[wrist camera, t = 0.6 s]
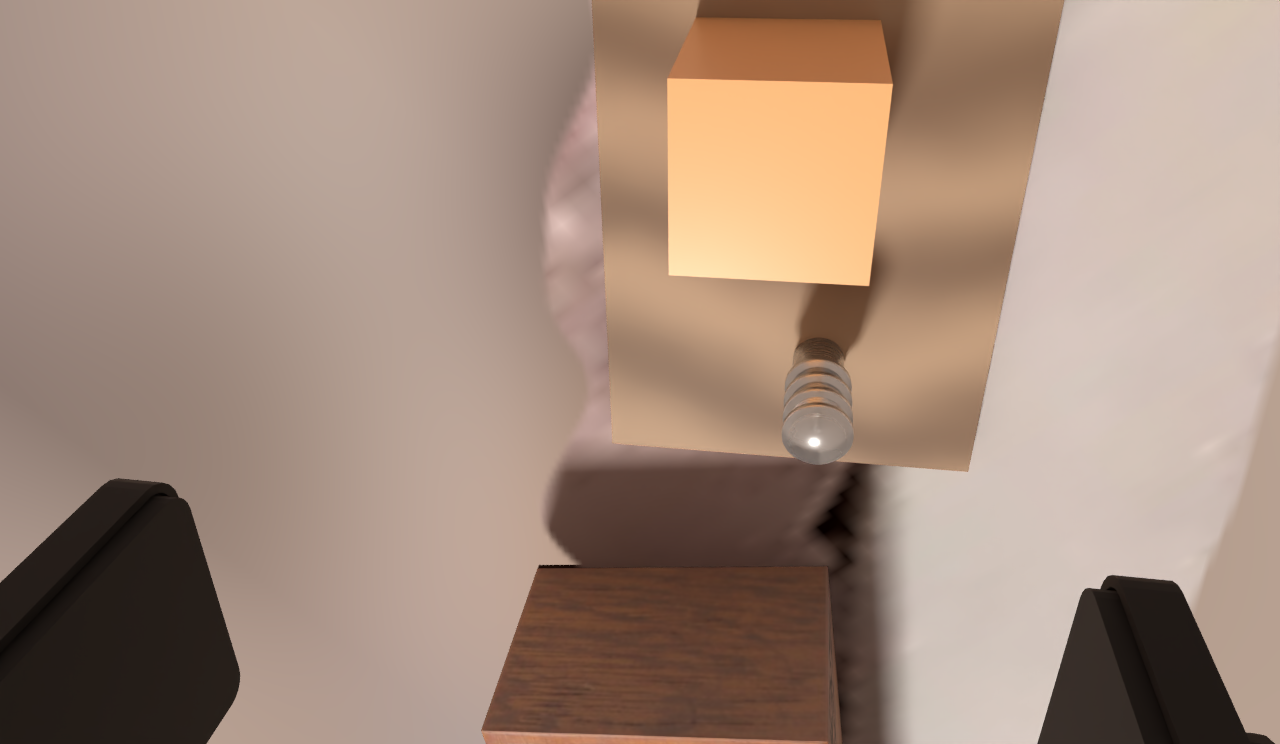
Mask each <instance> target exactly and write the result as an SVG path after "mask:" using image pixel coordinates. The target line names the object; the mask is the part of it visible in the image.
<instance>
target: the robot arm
mask: <svg viewBox="0 0 1280 744" xmlns="http://www.w3.org/2000/svg"><path fill="white" fill-rule="evenodd" d="M239 683H240V672H239V666H238V663H237V660H236V657H235V653H234V650H233V647H232V643H231V640H230V637H229V633H228V630H227V627H226V624H225V620H224V617H223V614H222V611H221V608H220V604H219V601H218V598H217V594H216V591H215V588H214V585H213V581H212V578H211V575H210V571H209V568H208V565H207V562H206V558H205V555H204V552H203V548H202V546H201V542H200V539H199V536H198V532H197V529H196V526H195V523H194V519H193V516H192V513H191V509H190V507H189V505H188V503H187V502H186V501H185V500H184V499H182V498H179V497H178V495H177V493H176V491H175V490H174V488H172V487H171V486H170V485H169V484H165V483H159V482H149V481H139V480H129V479H119V478H118V479H114V480H110V481H108V482H107V483H106V484H104V485H103V486H101V487H100V488H99V489H98V490H97V491H96V492H95V493H94V494H93V495H92V496H91V497H90V498H89V499H88V500H87V501H86V502H85V503H84V504H82V505H81V506H80V507H79V508H78V509H77V510H76V511H75V512H74V513H73V514H72V515H71V516H70V517H69V518H68V519H67V520H66V521H65V522H64V523H62V524H61V525H60V526H59V527H58V528H57V529H56V530H55V531H54V532H53V533H52V534H51V535H50V536H49V537H48V538H47V539H46V540H45V541H44V542H43V543H41V544H40V545H39V546H38V547H37V548H36V549H35V550H34V551H33V552H32V553H31V554H30V555H29V556H28V557H27V558H26V559H25V560H24V561H23V562H22V563H20V565H18V566H17V567H16V568H15V569H14V570H13V571H12V572H11V573H10V574H9V575H8V576H7V577H6V578H5V579H4V580H3V581H2V582H1V583H0V744H206V743H207V742H208V740H209V739H210V737H211V736H212V734H213V732H214V731H215V730H216V728H217V727H218V725H219V723H220V722H221V721H222V719H223V717H224V716H225V714H226V713H227V711H228V710H229V708H230V707H231V705H232V703H233V701H234V700H235V697H236V695H237V692H238V688H239ZM1038 744H1275V743H1274V742H1272V741H1271V740H1270V739H1269V738H1268V737H1267V736H1264V735H1260V734H1254V733H1246V732H1245V730H1244V728H1243V725H1242V723H1241V721H1240V719H1239V717H1238V714H1237V712H1236V710H1235V708H1234V706H1233V703H1232V701H1231V699H1230V697H1229V694H1228V692H1227V690H1226V688H1225V686H1224V683H1223V681H1222V679H1221V677H1220V674H1219V672H1218V670H1217V668H1216V666H1215V664H1214V662H1213V659H1212V657H1211V654H1210V652H1209V650H1208V648H1207V645H1206V643H1205V641H1204V639H1203V637H1202V634H1201V632H1200V630H1199V628H1198V626H1197V623H1196V621H1195V619H1194V617H1193V614H1192V612H1191V610H1190V608H1189V606H1188V603H1187V601H1186V599H1185V597H1184V594H1183V592H1182V591H1181V589H1180V588H1179V586H1178V585H1177V584H1176V583H1174V582H1173V581H1167V580H1156V579H1146V578H1136V577H1126V576H1115V575H1111V576H1108V577H1107V578H1106V579H1105V580H1104V582H1103V584H1102V586H1101V589H1092V588H1087V589H1085V590H1084V591H1083V592H1082V595H1081V597H1080V600H1079V603H1078V607H1077V610H1076V614H1075V617H1074V621H1073V624H1072V627H1071V631H1070V634H1069V638H1068V641H1067V645H1066V648H1065V651H1064V655H1063V658H1062V662H1061V665H1060V669H1059V672H1058V675H1057V679H1056V682H1055V686H1054V689H1053V692H1052V696H1051V699H1050V703H1049V706H1048V710H1047V713H1046V716H1045V720H1044V723H1043V727H1042V730H1041V734H1040V737H1039V740H1038Z"/></svg>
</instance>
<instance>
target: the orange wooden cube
mask: <svg viewBox="0 0 1280 744" xmlns="http://www.w3.org/2000/svg"><path fill="white" fill-rule="evenodd" d="M892 88H893V82H892V76H891V71H890V66H889V61H888V55H887V50H886V45H885V40H884V34H883V29H882V24H881V20H835V19H769V18H703V17H696V18H695V20H694V22H693V25H692V27H691V29H690V31H689V33H688V35H687V37H686V40H685V42H684V44H683V46H682V48H681V50H680V52H679V55H678V57H677V59H676V61H675V63H674V65H673V67H672V69H671V72H670V74H669V76H668V78H667V105H668V252H669V275H674V276H692V277H711V278H729V279H748V280H766V281H785V282H804V283H822V284H841V285H859V286H869V282H870V273H871V265H872V257H873V248H874V240H875V231H876V223H877V214H878V206H879V197H880V189H881V181H882V172H883V164H884V155H885V147H886V138H887V130H888V121H889V113H890V104H891V96H892Z"/></svg>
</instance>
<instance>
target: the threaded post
mask: <svg viewBox="0 0 1280 744" xmlns="http://www.w3.org/2000/svg"><path fill="white" fill-rule="evenodd" d="M851 392H852V383H851V378H850V375H849V373H848V371H847V370H846V369H845V368H844V354H843V351H842V349H841V348H840V347H839V346H838V345H837V344H836V343H835V342H833V341H831V340H829V339H826V338H811V339H808V340H806V341H804V342H802V343H801V344H800V345H799V346H798V347H797V348H796V350H795V352H794V354H793V366H792V368H791V369H790V370H789V372H788V374H787V376H786V379H785V394H784V409H783V425H782V441H783V444H784V446H785V448H786V449H787V451H788V452H789V453H790V454H791V455H792V456H793V457H795V458H797V459H798V460H800V461H803V462H806V463H809V464H814V465H823V464H827V463H831V462H834V461H836V460H838V459H840V458H841V457H843V456H844V455H845V454H846V453H847V452H848V451H849V449H850V448H851V446H852V443H853V438H854V433H853V425H852V424H853V412H852V394H851Z"/></svg>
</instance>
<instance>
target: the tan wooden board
mask: <svg viewBox="0 0 1280 744" xmlns="http://www.w3.org/2000/svg"><path fill="white" fill-rule="evenodd" d="M1063 4H1064V0H592V16H593V38H594V59H595V80H596V102H597V123H598V145H599V166H600V188H601V209H602V231H603V252H604V274H605V295H606V317H607V338H608V360H609V381H610V403H611V424H612V443H613V444H626V445H639V446H651V447H664V448H676V449H689V450H701V451H714V452H726V453H739V454H752V455H764V456H777V457H789V458H795V457H793V456H792V455H791V454H790V453H789V452H788V451H787V449H786V448H785V446H784V444H783V441H782V425H783V409H784V394H785V379H786V376H787V374H788V372H789V370H790V369H791V368H792V366H793V354H794V352H795V350H796V348H797V347H798V346H799V345H800V344H801V343H802V342H804V341H806V340H808V339H811V338H826V339H829V340H831V341H833V342H835V343H836V344H837V345H838V346H839V347H840V348H841V349H842V351H843V354H844V368H845V369H846V370H847V371H848V373H849V375H850V378H851V383H852V392H851V394H852V412H853V424H852V425H853V433H854V438H853V443H852V446H851V448H850V449H849V451H848V452H847V453H846V454H845V455H844V456H843V457H841V458H840V459H838V460H836V461H839V462H852V463H865V464H877V465H890V466H902V467H915V468H927V469H940V470H952V471H965V472H968V470H969V465H970V460H971V455H972V450H973V445H974V440H975V435H976V430H977V425H978V421H979V416H980V411H981V406H982V401H983V396H984V391H985V386H986V381H987V376H988V371H989V367H990V362H991V357H992V352H993V347H994V342H995V337H996V332H997V327H998V322H999V318H1000V313H1001V308H1002V303H1003V298H1004V293H1005V288H1006V283H1007V278H1008V273H1009V268H1010V264H1011V259H1012V254H1013V249H1014V244H1015V239H1016V234H1017V229H1018V224H1019V219H1020V214H1021V210H1022V205H1023V200H1024V195H1025V190H1026V185H1027V180H1028V175H1029V170H1030V165H1031V161H1032V156H1033V151H1034V146H1035V141H1036V136H1037V131H1038V126H1039V121H1040V116H1041V111H1042V107H1043V102H1044V97H1045V92H1046V87H1047V82H1048V77H1049V72H1050V67H1051V62H1052V58H1053V53H1054V48H1055V43H1056V38H1057V33H1058V28H1059V23H1060V18H1061V13H1062V8H1063ZM696 17H703V18H769V19H835V20H881V24H882V29H883V34H884V40H885V45H886V50H887V55H888V61H889V66H890V71H891V76H892V82H893V88H892V96H891V104H890V113H889V121H888V130H887V138H886V147H885V155H884V164H883V172H882V181H881V189H880V197H879V206H878V214H877V223H876V231H875V240H874V248H873V257H872V265H871V273H870V282H869V286H859V285H841V284H822V283H804V282H785V281H766V280H748V279H729V278H711V277H692V276H674V275H669V252H668V105H667V78H668V76H669V74H670V72H671V69H672V67H673V65H674V63H675V61H676V59H677V57H678V55H679V52H680V50H681V48H682V46H683V44H684V42H685V40H686V37H687V35H688V33H689V31H690V29H691V27H692V25H693V22H694V20H695V18H696Z"/></svg>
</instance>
